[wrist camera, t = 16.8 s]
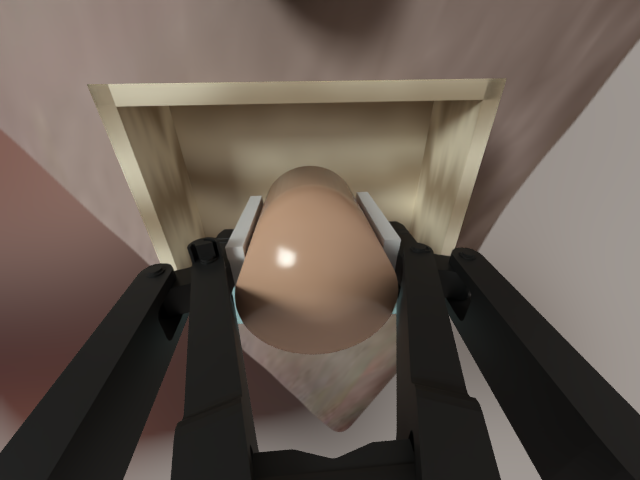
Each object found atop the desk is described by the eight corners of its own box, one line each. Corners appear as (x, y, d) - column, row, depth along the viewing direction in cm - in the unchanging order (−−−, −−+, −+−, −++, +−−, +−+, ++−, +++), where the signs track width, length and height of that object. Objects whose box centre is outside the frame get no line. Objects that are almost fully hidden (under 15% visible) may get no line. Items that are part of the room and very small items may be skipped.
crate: (168, 87, 20) (86, 84, 13) (432, 83, 22) (506, 78, 14) (209, 237, 27) (173, 294, 20) (406, 228, 29) (445, 278, 21)
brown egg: (269, 252, 19) (248, 359, 11) (258, 167, 16) (218, 235, 8) (352, 248, 19) (387, 349, 12) (357, 164, 16) (410, 226, 8)
